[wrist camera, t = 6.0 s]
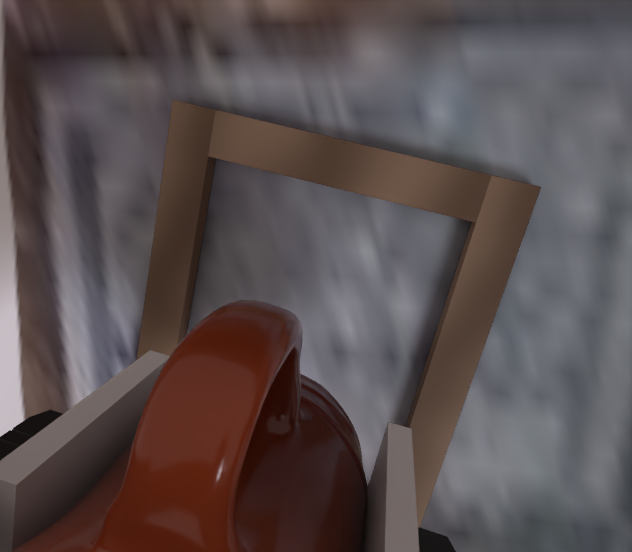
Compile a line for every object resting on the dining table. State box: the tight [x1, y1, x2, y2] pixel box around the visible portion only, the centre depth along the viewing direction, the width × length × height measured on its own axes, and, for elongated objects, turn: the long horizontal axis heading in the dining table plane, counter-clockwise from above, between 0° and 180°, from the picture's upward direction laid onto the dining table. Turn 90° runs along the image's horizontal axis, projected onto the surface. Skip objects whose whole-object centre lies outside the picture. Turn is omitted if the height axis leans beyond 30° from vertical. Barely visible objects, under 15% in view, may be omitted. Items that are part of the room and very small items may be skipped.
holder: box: [137, 100, 541, 528], centre depth 22 cm, size 16×19×1 cm
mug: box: [11, 300, 368, 552], centre depth 11 cm, size 12×9×10 cm
